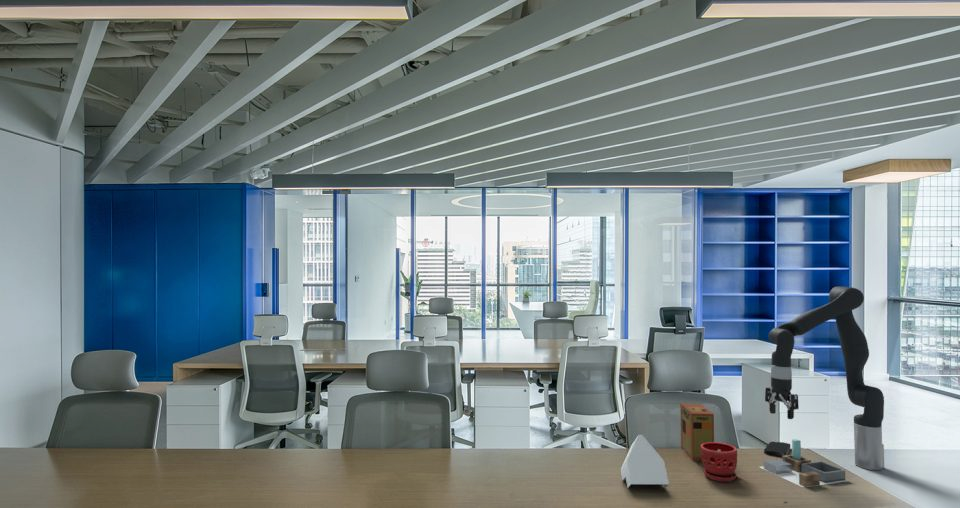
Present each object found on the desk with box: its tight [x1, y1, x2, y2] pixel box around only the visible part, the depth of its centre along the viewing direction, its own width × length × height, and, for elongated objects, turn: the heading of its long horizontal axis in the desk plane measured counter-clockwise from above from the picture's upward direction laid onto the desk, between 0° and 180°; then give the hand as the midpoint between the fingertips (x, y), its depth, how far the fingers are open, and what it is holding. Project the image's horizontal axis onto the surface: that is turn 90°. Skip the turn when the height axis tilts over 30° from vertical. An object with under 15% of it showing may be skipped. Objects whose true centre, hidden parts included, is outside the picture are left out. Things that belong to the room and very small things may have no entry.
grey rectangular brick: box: [763, 458, 792, 475], centre depth 202 cm, size 8×6×3 cm
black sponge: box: [763, 441, 791, 458], centre depth 225 cm, size 16×8×4 cm, turn 141°
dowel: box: [791, 438, 802, 460], centre depth 205 cm, size 3×3×11 cm
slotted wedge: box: [620, 434, 670, 489], centre depth 194 cm, size 14×11×18 cm
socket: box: [781, 454, 812, 472], centre depth 205 cm, size 7×7×4 cm
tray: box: [801, 460, 846, 483], centre depth 196 cm, size 10×10×4 cm
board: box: [759, 465, 848, 488], centre depth 199 cm, size 22×20×1 cm
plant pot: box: [701, 441, 738, 483], centre depth 199 cm, size 13×13×12 cm
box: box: [679, 403, 715, 462], centre depth 224 cm, size 17×9×20 cm, turn 174°
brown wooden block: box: [799, 472, 821, 488], centre depth 189 cm, size 7×2×4 cm, turn 105°
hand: (781, 416), depth 210 cm, fingers open, 8 cm apart
